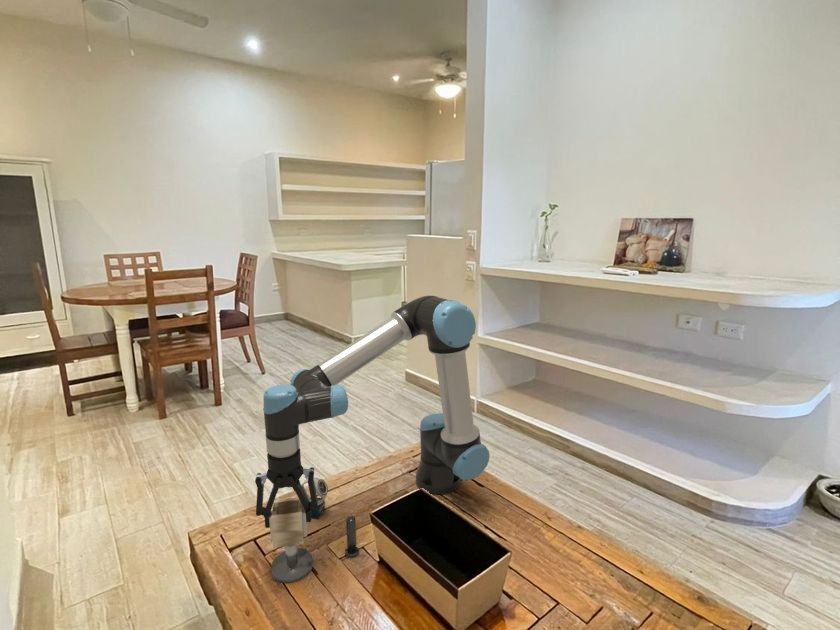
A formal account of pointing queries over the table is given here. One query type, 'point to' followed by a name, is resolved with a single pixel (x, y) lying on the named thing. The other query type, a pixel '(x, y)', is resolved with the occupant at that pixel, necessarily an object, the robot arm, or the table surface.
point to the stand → (351, 537)
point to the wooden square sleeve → (287, 522)
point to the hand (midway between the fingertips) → (289, 535)
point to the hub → (292, 564)
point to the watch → (321, 491)
